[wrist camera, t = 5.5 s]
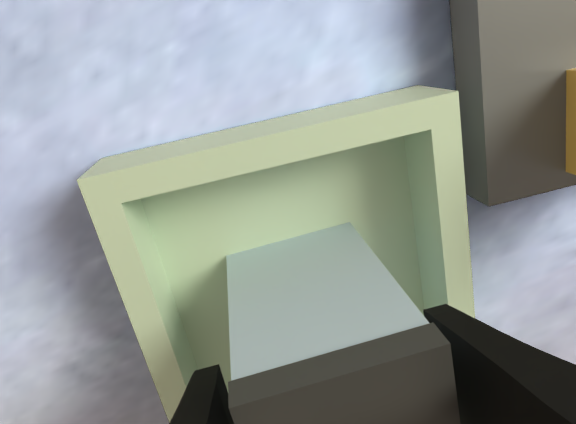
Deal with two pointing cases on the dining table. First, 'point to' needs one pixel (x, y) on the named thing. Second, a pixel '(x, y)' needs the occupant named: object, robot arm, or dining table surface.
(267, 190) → the parts tray
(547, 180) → the block
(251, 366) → the grey-green rectangular block
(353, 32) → the dining table surface
